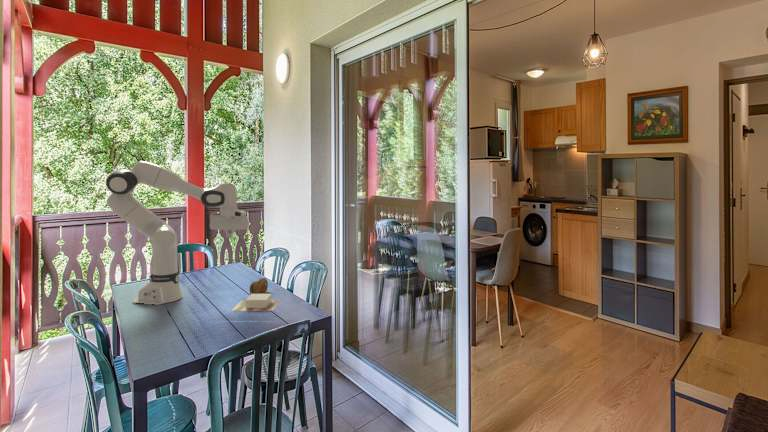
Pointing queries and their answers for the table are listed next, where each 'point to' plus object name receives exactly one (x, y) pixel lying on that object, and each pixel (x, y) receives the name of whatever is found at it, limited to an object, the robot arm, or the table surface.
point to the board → (242, 307)
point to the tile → (258, 301)
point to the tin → (259, 286)
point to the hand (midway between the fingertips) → (229, 237)
